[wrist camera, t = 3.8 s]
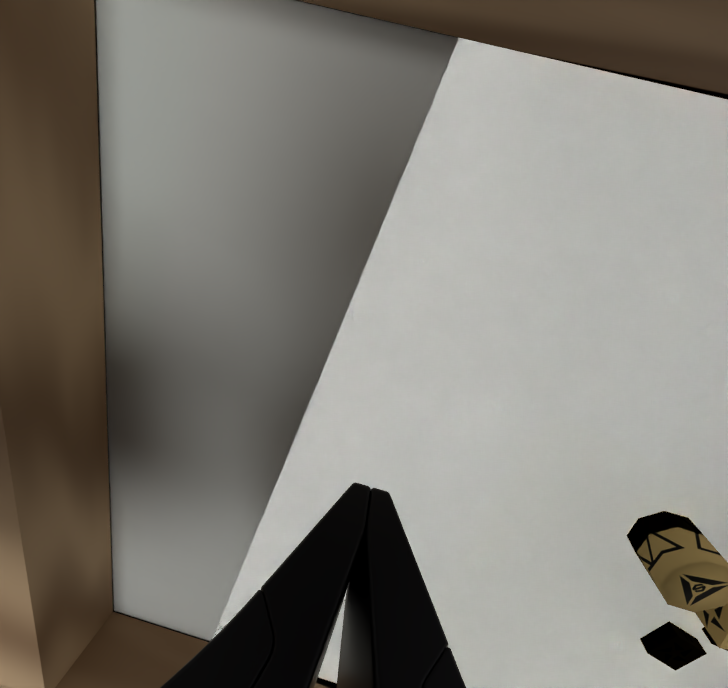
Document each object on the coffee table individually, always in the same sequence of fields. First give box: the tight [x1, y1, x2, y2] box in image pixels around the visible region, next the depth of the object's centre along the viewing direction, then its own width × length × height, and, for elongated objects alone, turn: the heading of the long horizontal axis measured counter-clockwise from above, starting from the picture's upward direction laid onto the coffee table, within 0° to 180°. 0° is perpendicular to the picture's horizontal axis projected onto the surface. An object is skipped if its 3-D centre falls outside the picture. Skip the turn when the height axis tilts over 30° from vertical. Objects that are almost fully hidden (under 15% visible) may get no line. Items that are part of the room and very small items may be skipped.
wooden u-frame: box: [0, 0, 728, 688], centre depth 8 cm, size 22×25×2 cm
